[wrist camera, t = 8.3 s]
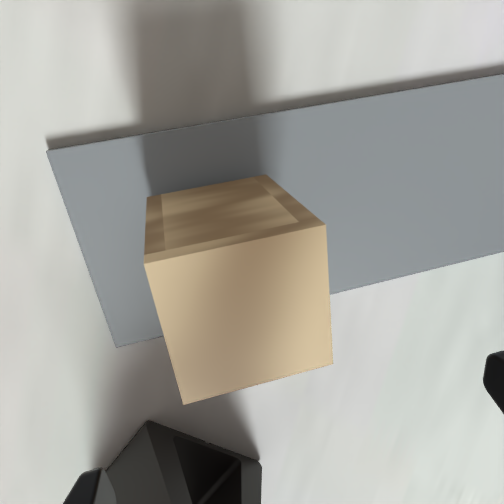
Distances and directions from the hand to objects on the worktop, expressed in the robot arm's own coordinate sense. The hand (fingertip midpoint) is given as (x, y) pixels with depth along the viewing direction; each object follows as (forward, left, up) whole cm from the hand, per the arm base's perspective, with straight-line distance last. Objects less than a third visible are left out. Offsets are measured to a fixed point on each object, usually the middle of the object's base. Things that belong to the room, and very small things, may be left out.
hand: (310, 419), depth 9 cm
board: (-5, 0, -12) cm, 13 cm away
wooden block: (+1, 0, -10) cm, 10 cm away
